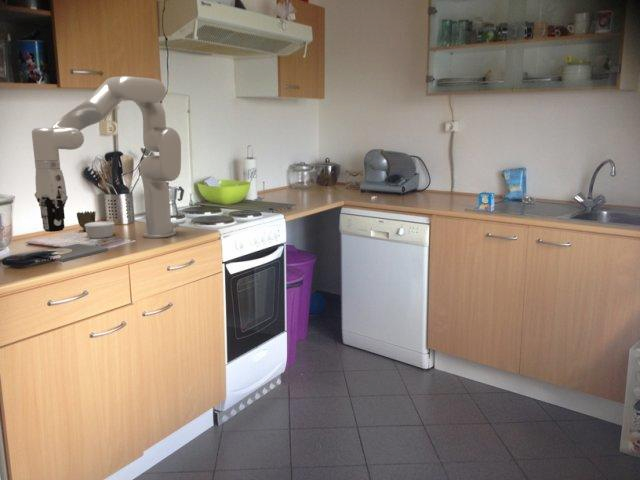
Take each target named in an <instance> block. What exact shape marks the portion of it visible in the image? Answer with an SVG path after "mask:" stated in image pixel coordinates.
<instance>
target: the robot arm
mask: <svg viewBox="0 0 640 480" xmlns="http://www.w3.org/2000/svg"><path fill="white" fill-rule="evenodd" d="M166 89H167V88H166V87H165V84H164V83H163V82H162V81H161V80H159V79H156V78H148V77H137V76H130V75H129V76H128V75H121V76H120V75H119V76H112V77H109V78H107V79H105V81H104V82H102V83H101V85H99V86H98V88H96V89H95V90H94V91H93V93H92V94H90V96H88V97H87V98H86V99H85V100H84V101H83V102H81V103H80V104H79V105H77V106H75V107H74V108H73V109H72V110H70V111H68V112H67V113H65V114H64V115H63V116H62V117H60V118H59V119H58V120H57V121H56V122H55V123H54V124H53V125H52V126H51V127H36V128H33V129H32V130H31V138H32V139H31V140H32V148H33V157H34V167H35V169H34V170H35V176H34V177H35V193H34V197H35V199H36V201H37V203H38V206H39V207H40V210H41V202H40V200H41V198H42V197H41V196H49V199H51V200H53V202H54V205H55V207H56V208H54V211H55V219H56V220H62V219H64V220H65V218H66V216H65V207H66V203H67V200H68V195H67V187H66V182H65V181H66V180H65V177H64V174H63V170H62V169H61V164H60V163H61V162H60V151H59V150H70V151H72V150H77V149H79V148H81V147H82V146H83V144H84V141H85V136H84V134H83V133H82V130H84V129H86V128H87V127H90V126H92V125H95V124H98V123H100V122H103V120H105V119H106V118H107V117H108V116H109V115H110V114H111V112H113V110H114V109H115V108H116V107H117V106H118V105H119V104H121V103H122V102H124V101H125V102H126V101H129V102H130V101H132V102H134V103H135V104H136V105H137V107H138V108H139V109H140V112H141V116H142V141H143V146H144V148H145V149H146V150H147V151H148V152H152V153H158V155H148V156H146V157H144V158H143V159H142V160H141V162H140V163H139V173H140V177H141V182H142V186H143V187H142V188H143V196H144V197H143V198H144V210H145V211H144V212H145V222H146V223H145V226H146V231H144V232H142V236H143V237H144V238H150V239H158V238H160V239H161V238H162V239H163V238H169V237H173V236H175V235H176V230H174V229H175V228H179V227H180V223H179V222H178V221H177V222H174V223H173V222H172V221H171V207H170V206H171V205H170V202H171V201H170V190H169V185H168V183H167V182H172V181H173V182H174V181H175V180H177V179H178V178H179V177H180V175H181V169H182V142H181V141H182V140H181V138H180V135H179V133H178V131H177V130H175V128H173V127H168V126H167V123H166V121H167V120H166V111H165V108H164V106H163V104H162V101H163V100H164V99H165V97H166V94H167V90H166ZM57 197H59V198H57ZM56 198H57V199H56ZM57 201H59V203H58V202H57ZM40 216H41V217H40V218H41V219H42V212H41V211H40Z"/></svg>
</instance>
